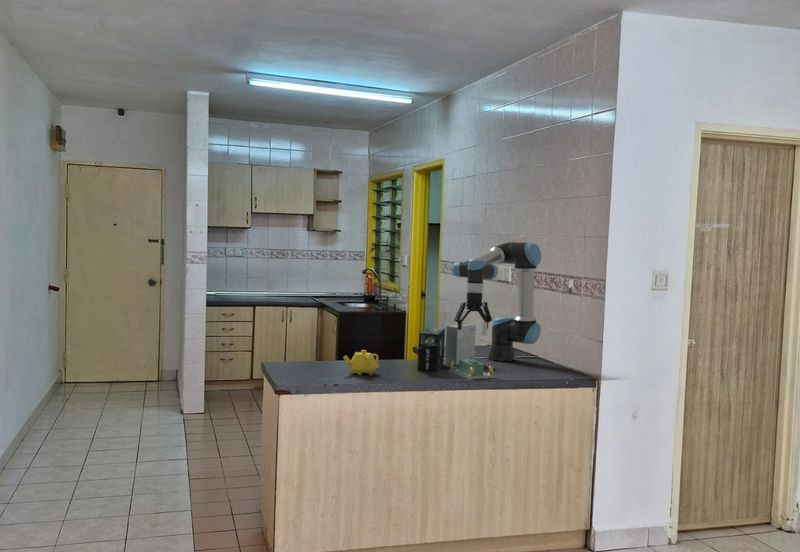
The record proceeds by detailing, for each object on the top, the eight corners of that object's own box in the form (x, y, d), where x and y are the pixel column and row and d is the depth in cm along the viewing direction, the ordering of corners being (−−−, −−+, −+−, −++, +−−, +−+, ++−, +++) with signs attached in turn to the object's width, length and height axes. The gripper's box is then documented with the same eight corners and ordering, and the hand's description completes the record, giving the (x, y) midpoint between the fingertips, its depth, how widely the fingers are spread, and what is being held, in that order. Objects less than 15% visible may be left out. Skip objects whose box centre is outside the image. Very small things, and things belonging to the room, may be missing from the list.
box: (437, 372, 353) (439, 333, 352) (417, 371, 355) (418, 332, 354) (444, 365, 375) (445, 328, 374) (425, 363, 377) (426, 327, 376)
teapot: (355, 369, 350) (355, 346, 350) (381, 372, 345) (382, 349, 345) (341, 374, 337) (342, 350, 336) (368, 377, 332) (369, 353, 331)
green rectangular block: (472, 369, 358) (472, 358, 358) (483, 374, 345) (483, 363, 345) (458, 369, 356) (459, 358, 356) (469, 374, 343) (470, 363, 343)
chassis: (470, 370, 363) (471, 359, 362) (493, 377, 345) (494, 366, 345) (448, 371, 357) (448, 360, 356) (470, 379, 339) (471, 368, 339)
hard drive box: (463, 361, 390) (465, 323, 389) (474, 363, 385) (476, 325, 384) (444, 363, 379) (446, 325, 378) (455, 365, 374) (457, 327, 373)
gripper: (491, 291, 358) (489, 334, 359) (448, 291, 346) (446, 335, 348) (500, 292, 351) (498, 336, 352) (456, 292, 340) (454, 337, 341)
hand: (472, 336), depth 350 cm, fingers open, 13 cm apart
